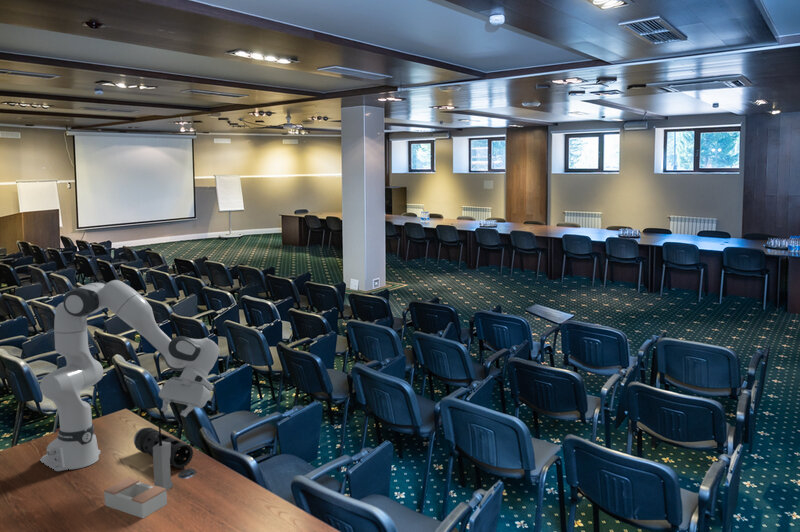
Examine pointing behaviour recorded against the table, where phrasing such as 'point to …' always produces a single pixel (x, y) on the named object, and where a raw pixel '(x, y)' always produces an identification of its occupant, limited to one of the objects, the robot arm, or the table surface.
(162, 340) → the robot arm
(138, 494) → the tan rectangular frame
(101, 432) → the table surface
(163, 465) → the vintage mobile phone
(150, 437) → the muzzle brake
